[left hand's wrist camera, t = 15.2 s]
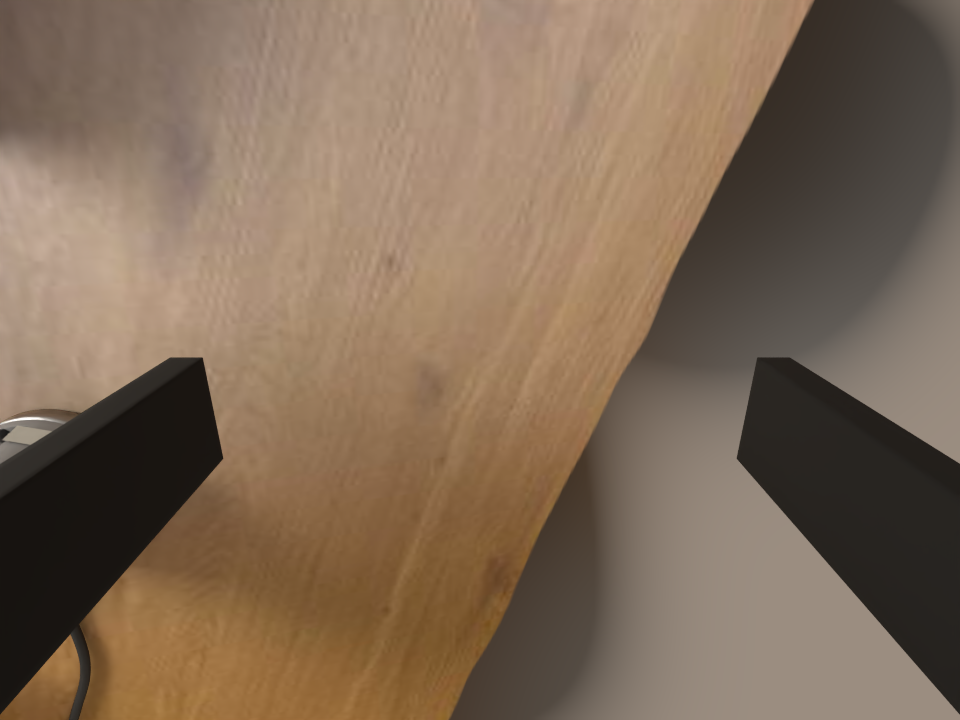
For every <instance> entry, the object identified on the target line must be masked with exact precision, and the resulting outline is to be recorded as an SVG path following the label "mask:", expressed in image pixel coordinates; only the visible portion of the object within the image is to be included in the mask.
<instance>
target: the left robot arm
mask: <svg viewBox="0 0 960 720" xmlns="http://www.w3.org/2000/svg"><path fill="white" fill-rule="evenodd" d="M222 459H223V455H222V450H221V445H220V440H219V435H218V430H217V425H216V420H215V416H214V411H213V406H212V401H211V396H210V391H209V386H208V381H207V376H206V372H205V367H204V362H203V358H169V359H167V360H166V361H164V362H162V363H161V364H159V365H158V366H156V367H154V368H153V369H151V370H150V371H148V372H146V373H145V374H143V375H142V376H140V377H138V378H137V379H135V380H134V381H132V382H130V383H129V384H127V385H126V386H124V387H122V388H121V389H119V390H118V391H116V392H114V393H113V394H111V395H110V396H108V397H106V398H105V399H103V400H102V401H100V402H98V403H97V404H95V405H94V406H92V407H90V408H89V409H87V410H86V411H84V412H82V413H81V414H77V413H73V412H69V411H62V410H52V409H41V410H32V411H27V412H23V413H20V414H17V415H15V416H13V417H10V418H8V419H7V420H5V421H3V422H1V423H0V714H1V713H2V712H3V711H4V710H5V708H6V707H7V706H8V705H9V704H10V703H11V701H12V700H13V699H14V698H15V697H16V696H17V695H18V693H19V692H20V691H21V690H22V689H23V688H24V687H25V685H26V684H27V683H28V682H29V681H30V680H31V679H32V677H33V676H34V675H35V674H36V673H37V672H38V671H39V669H40V668H41V667H42V666H43V665H44V664H45V662H46V661H47V660H48V659H49V658H50V657H51V656H52V654H53V653H54V652H55V651H56V650H57V649H58V648H59V646H60V645H61V644H62V643H63V642H64V641H65V640H66V638H67V637H68V636H69V635H70V634H71V636H72V639H73V641H74V644H75V647H76V649H77V653H78V656H79V661H80V682H79V687H78V690H77V694H76V697H75V700H74V703H73V707H72V710H71V714H70V717H69V720H78V719H79V716H80V712H81V709H82V706H83V702H84V699H85V696H86V693H87V690H88V686H89V681H90V672H91V666H90V656H89V651H88V647H87V644H86V641H85V638H84V635H83V633H82V630H81V628H80V625H79V624H80V622H81V621H82V620H83V619H84V618H85V617H86V615H87V614H88V613H89V612H90V611H91V610H92V609H93V607H94V606H95V605H96V604H97V603H98V602H99V601H100V599H101V598H102V597H103V596H104V595H105V594H106V593H107V591H108V590H109V589H110V588H111V587H112V586H113V585H114V583H115V582H116V581H117V580H118V579H119V578H120V576H121V575H122V574H123V573H124V572H125V571H126V570H127V568H128V567H129V566H130V565H131V564H132V563H133V562H134V560H135V559H136V558H137V557H138V556H139V555H140V554H141V552H142V551H143V550H144V549H145V548H146V547H147V546H148V544H149V543H150V542H151V541H152V540H153V539H154V537H155V536H156V535H157V534H158V533H159V532H160V531H161V529H162V528H163V527H164V526H165V525H166V524H167V523H168V521H169V520H170V519H171V518H172V517H173V516H174V515H175V513H176V512H177V511H178V510H179V509H180V508H181V507H182V505H183V504H184V503H185V502H186V501H187V500H188V498H189V497H190V496H191V495H192V494H193V493H194V492H195V490H196V489H197V488H198V487H199V486H200V485H201V484H202V482H203V481H204V480H205V479H206V478H207V477H208V476H209V474H210V473H211V472H212V471H213V470H214V469H215V468H216V466H217V465H218V464H219V463H220V462H221V461H222ZM737 459H738V461H739V462H740V463H741V464H742V465H743V466H744V468H745V469H746V470H747V471H748V472H749V473H750V474H751V476H752V477H753V478H754V479H755V480H756V481H757V482H758V484H759V485H760V486H761V487H762V488H763V489H764V490H765V492H766V493H767V494H768V495H769V496H770V497H771V498H772V500H773V501H774V502H775V503H776V504H777V505H778V506H779V508H780V509H781V510H782V511H783V512H784V513H785V514H786V516H787V517H788V518H789V519H790V520H791V521H792V523H793V524H794V525H795V526H796V527H797V528H798V529H799V531H800V532H801V533H802V534H803V535H804V536H805V537H806V539H807V540H808V541H809V542H810V543H811V544H812V546H813V547H814V548H815V549H816V550H817V551H818V552H819V554H820V555H821V556H822V557H823V558H824V559H825V560H826V562H827V563H828V564H829V565H830V566H831V567H832V568H833V570H834V571H835V572H836V573H837V574H838V575H839V576H840V578H841V579H842V580H843V581H844V582H845V583H846V584H847V586H848V587H849V588H850V589H851V590H852V591H853V593H854V594H855V595H856V596H857V597H858V598H859V599H860V601H861V602H862V603H863V604H864V605H865V606H866V607H867V609H868V610H869V611H870V612H871V613H872V614H873V615H874V617H875V618H876V619H877V620H878V621H879V622H880V623H881V625H882V626H883V627H884V628H885V629H886V630H887V632H888V633H889V634H890V635H891V636H892V637H893V638H894V640H895V641H896V642H897V643H898V644H899V645H900V646H901V648H902V649H903V650H904V651H905V652H906V653H907V654H908V656H909V657H910V658H911V659H912V660H913V661H914V663H915V664H916V665H917V666H918V667H919V668H920V669H921V671H922V672H923V673H924V674H925V675H926V676H927V677H928V679H929V680H930V681H931V682H932V683H933V684H934V685H935V687H936V688H937V689H938V690H939V691H940V692H941V693H942V695H943V696H944V697H945V698H946V699H947V700H948V701H949V703H950V704H951V705H952V706H953V707H954V708H955V710H956V711H957V712H958V713H959V714H960V464H959V463H958V462H956V461H954V460H953V459H951V458H950V457H948V456H946V455H945V454H943V453H942V452H940V451H938V450H937V449H935V448H934V447H932V446H930V445H929V444H927V443H926V442H924V441H922V440H921V439H919V438H918V437H916V436H914V435H913V434H911V433H910V432H908V431H906V430H905V429H903V428H902V427H900V426H898V425H897V424H895V423H894V422H892V421H890V420H889V419H887V418H886V417H884V416H882V415H881V414H879V413H878V412H876V411H874V410H873V409H871V408H870V407H868V406H866V405H865V404H863V403H862V402H860V401H858V400H857V399H855V398H854V397H852V396H850V395H849V394H847V393H846V392H844V391H842V390H841V389H839V388H838V387H836V386H834V385H833V384H831V383H830V382H828V381H826V380H825V379H823V378H822V377H820V376H818V375H817V374H815V373H814V372H812V371H810V370H809V369H807V368H806V367H804V366H802V365H801V364H799V363H798V362H796V361H794V360H793V359H791V358H757V362H756V367H755V372H754V376H753V381H752V386H751V391H750V396H749V401H748V406H747V411H746V416H745V420H744V425H743V430H742V435H741V440H740V445H739V450H738V455H737Z"/></svg>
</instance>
